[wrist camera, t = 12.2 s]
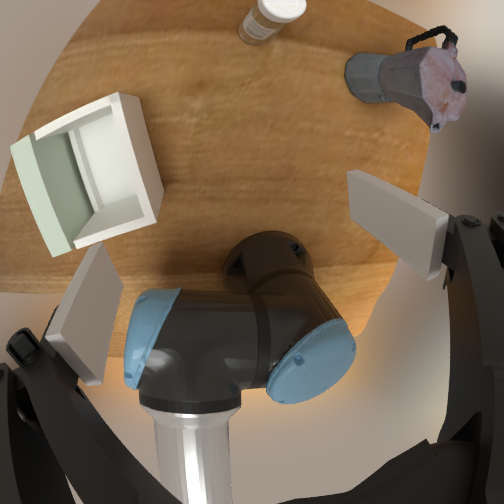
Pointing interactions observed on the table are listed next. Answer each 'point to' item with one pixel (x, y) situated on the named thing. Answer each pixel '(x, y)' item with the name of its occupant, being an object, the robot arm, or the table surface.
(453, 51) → the moka pot
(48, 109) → the table surface
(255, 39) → the sprinkles bottle
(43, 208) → the door
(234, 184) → the table surface
